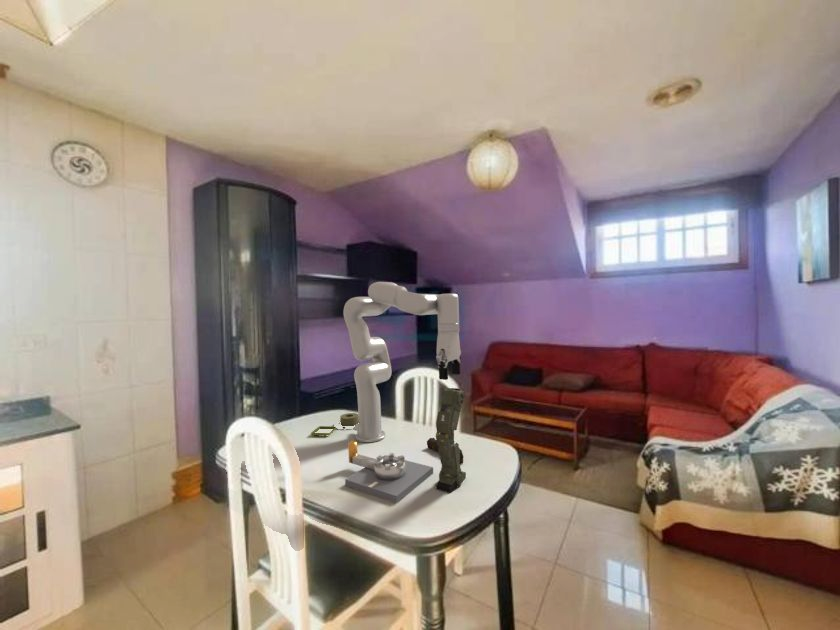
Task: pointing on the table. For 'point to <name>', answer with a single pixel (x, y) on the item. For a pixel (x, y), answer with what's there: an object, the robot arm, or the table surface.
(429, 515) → the table surface
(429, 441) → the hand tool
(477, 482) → the table surface
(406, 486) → the nut plate
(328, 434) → the green rectangular frame
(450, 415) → the mechanical leg
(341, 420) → the flange
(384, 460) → the crank handle
